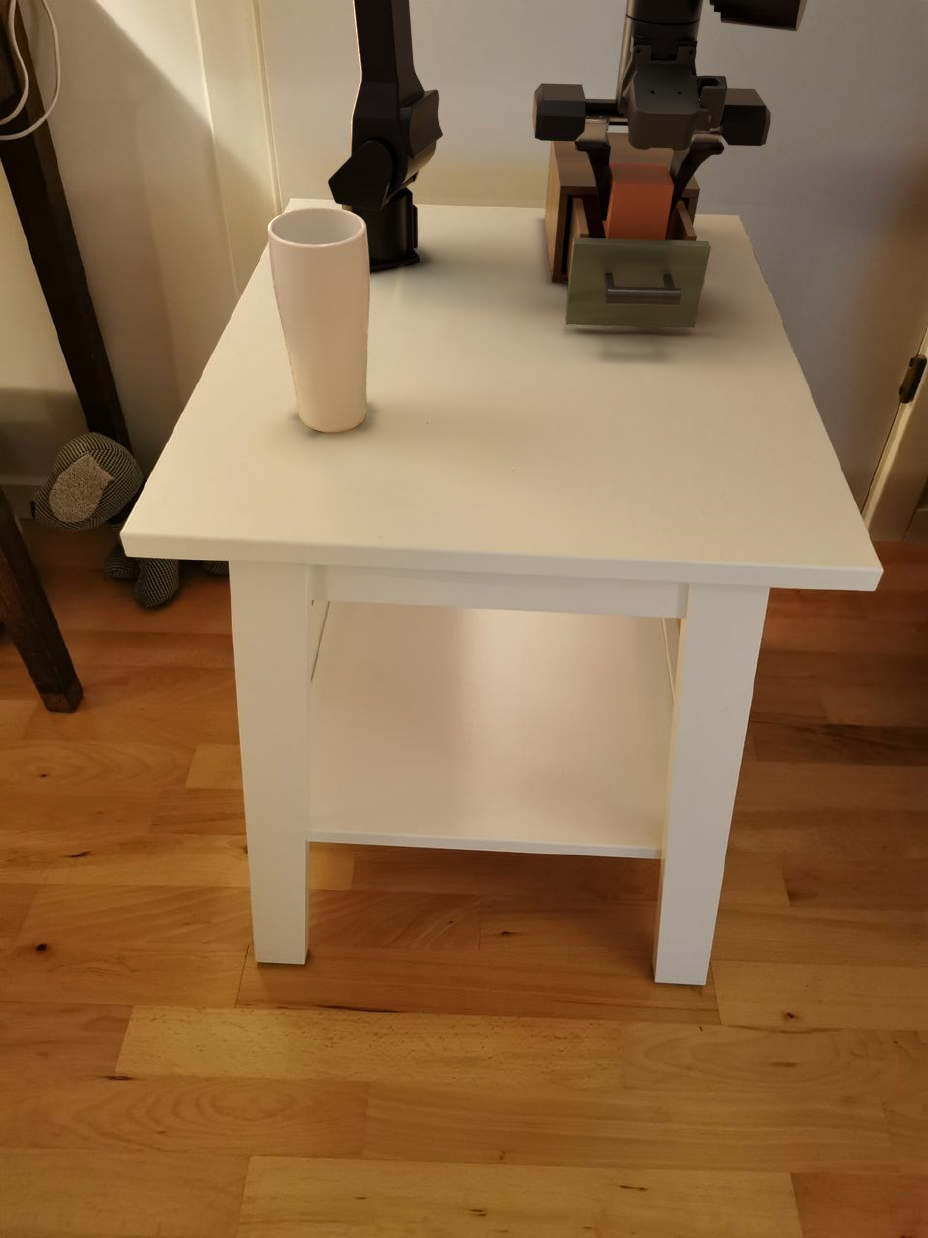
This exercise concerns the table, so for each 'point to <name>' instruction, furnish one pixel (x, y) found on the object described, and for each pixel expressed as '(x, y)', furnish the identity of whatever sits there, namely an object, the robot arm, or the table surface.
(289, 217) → the drinking glass
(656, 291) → the drawer
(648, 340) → the table surface
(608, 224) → the block
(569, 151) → the cabinet
